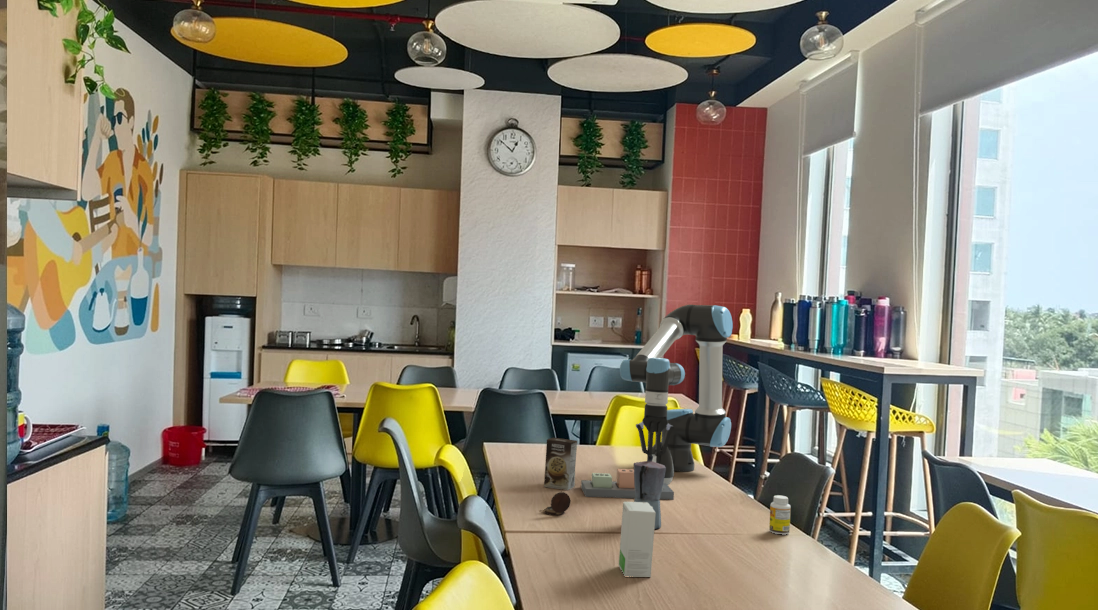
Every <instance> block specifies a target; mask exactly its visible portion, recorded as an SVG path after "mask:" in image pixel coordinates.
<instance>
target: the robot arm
mask: <svg viewBox="0 0 1098 610" xmlns="http://www.w3.org/2000/svg"><path fill="white" fill-rule="evenodd" d="M733 323H734V322H733V318H732V314H731V312H730V310H729V309H728V308H727V307H726V306H721V305H713V304H711V305H710V304H709V305H706V304H685V305H683V306H679V307H677V308H675V309H674V310H672V311H670V312H669V313H668V314H667V315H666V316H665V317H664V318H662V320H661V321H660V323H659V328H658V329H656V332H655V333H653V335H652V336H651V337H650V338H649V339H648V341H647V342H646V343H645V344H644V345H643V347H642V348H641V349H640V351H639V352H638V353H637V354H636V355H635V356H634V357H633V359H630V358H629V359H623V361H621V363H620V366H619V375H620V378H621V379H622V380H624V381H628V382H632V383H633V382H637V383H645V393H644V394H645V395H644V398H645V399H644V403H645V404H644V412H643V413H644V414H643V418H642V421H641V422H639V423H636V424H635V428H636V429H637V430H638V436H639V441H640V442H639V443H640V447H641V450H642V451H641V452H642V453H643V454H644V455H647V456H646V458H647V459H646V461H648V456H649V455H651V456H653V459H652V461H653V462H656V463H659V456H660V455H662V454H665V452H666V449H667V446H668V448H669V450H670V453H671V456H672V461H673V467H674V472H693V471H695V461H694V457H693V452H692V444H693V445H698V446H699V445H700V446H707V447H711V448H716V447H717V448H722V447H724V446H725V445H726V444H727V442H728V440H729V438H730V435H731V430H732V422H731V421H732V420H731V418H730V417H729V416H728V417H727V416H726V415H727V411H726V410H725V409H724V408H723V350H724V349H723V346H724V345H725V343H727V341H728V340H727V339H728V338H729V337H730V338H731V336H732V334H733ZM686 335H689V336H695V342H696V343H697V344H698V346H699V365H698V367H699V368H698V369H699V374H698V375H699V377H698V378H699V380H698V381H699V384H698V407H697V408H695V410H694V411H693V409H692V408H677V409H675V408H674V409H668V406H667V404H668V401H669V400H668V398H669V386H676V385H680V384H681V383H682V382H683V381H684V380H685V377H686V376H685V375H686V372H685V369H684V367H683V366H682V365H681V364H680V363H677V362H670V359H668V358H662V357H663V356H664V355H665V354H666V353H667V351H668V350H669V349H670V347H672V345H673V344H674V342H675V341H676V340H679V339H680V338H681V337H683V336H686ZM644 428H646V430H647V435H648V436H647V445H646V440H645V435H644ZM654 433H655V442H654ZM660 442H663V443H662V447H661V450H660ZM653 444H654V445H655V455H652V448H653V446H654V445H653Z"/></svg>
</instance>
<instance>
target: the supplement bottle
mask: <svg viewBox="0 0 1098 610" xmlns="http://www.w3.org/2000/svg"><path fill="white" fill-rule="evenodd" d="M790 525H791V504H789V498H788V496H785V495H779V494H777V495H774V496H773V500H772V502H770V507H769V526H768V527H769V529H768V530H769V533H771V532H772V534H773V533H775V534H774V535H777V534H782V535H781V536H787V535H789V534H790V528H791V526H790ZM786 534H787V535H786Z"/></svg>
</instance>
